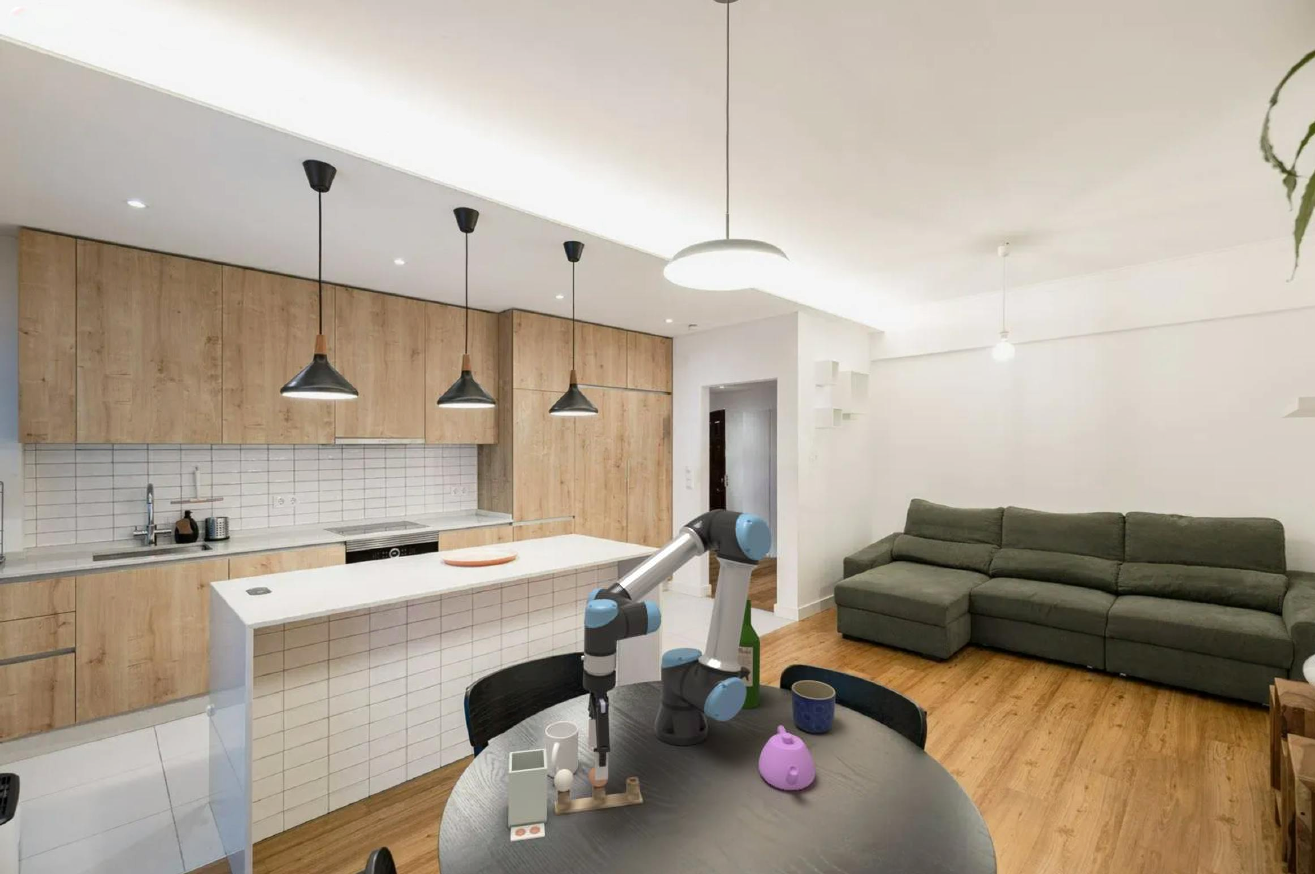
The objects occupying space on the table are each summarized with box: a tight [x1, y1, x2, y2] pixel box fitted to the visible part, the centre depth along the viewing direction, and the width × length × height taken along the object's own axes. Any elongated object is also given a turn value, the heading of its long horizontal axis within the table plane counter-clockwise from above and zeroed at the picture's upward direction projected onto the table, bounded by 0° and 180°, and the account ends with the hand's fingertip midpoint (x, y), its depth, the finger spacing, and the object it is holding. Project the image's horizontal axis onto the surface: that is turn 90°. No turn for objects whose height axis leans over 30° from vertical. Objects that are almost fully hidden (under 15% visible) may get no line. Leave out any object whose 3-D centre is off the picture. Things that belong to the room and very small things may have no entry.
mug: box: [544, 720, 579, 778], centre depth 145 cm, size 12×8×10 cm
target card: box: [510, 823, 546, 842], centre depth 124 cm, size 7×4×1 cm, turn 103°
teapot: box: [758, 725, 816, 791], centre depth 145 cm, size 14×20×11 cm
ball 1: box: [553, 769, 574, 791], centre depth 132 cm, size 4×4×4 cm
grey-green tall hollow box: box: [507, 748, 548, 829], centre depth 130 cm, size 8×8×12 cm
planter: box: [791, 679, 836, 734], centre depth 170 cm, size 12×12×11 cm
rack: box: [553, 776, 644, 816], centre depth 134 cm, size 20×4×4 cm, turn 103°
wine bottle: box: [737, 598, 761, 710], centre depth 185 cm, size 9×9×32 cm
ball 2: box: [588, 766, 609, 787], centre depth 134 cm, size 4×4×4 cm
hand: (597, 761), depth 134 cm, fingers open, 13 cm apart
